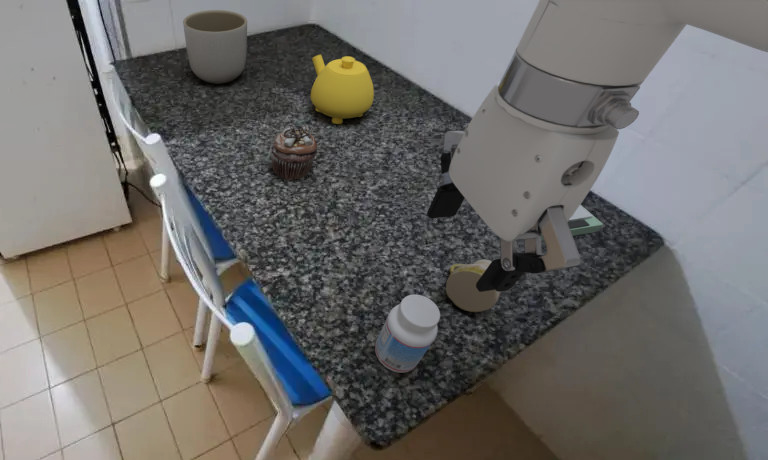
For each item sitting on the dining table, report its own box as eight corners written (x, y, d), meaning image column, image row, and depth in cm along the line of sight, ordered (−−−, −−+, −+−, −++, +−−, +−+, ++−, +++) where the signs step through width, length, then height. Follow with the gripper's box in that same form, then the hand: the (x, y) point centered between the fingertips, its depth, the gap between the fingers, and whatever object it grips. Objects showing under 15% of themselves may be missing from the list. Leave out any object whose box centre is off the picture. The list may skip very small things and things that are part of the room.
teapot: (287, 99, 106) (291, 46, 96) (332, 85, 111) (340, 35, 101) (334, 134, 94) (344, 78, 84) (382, 117, 100) (396, 63, 90)
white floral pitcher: (504, 282, 64) (534, 273, 55) (461, 322, 64) (484, 319, 54) (468, 250, 66) (490, 235, 57) (426, 288, 66) (442, 280, 57)
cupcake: (303, 152, 88) (308, 112, 81) (320, 178, 82) (327, 137, 75) (263, 159, 87) (264, 118, 79) (277, 186, 80) (279, 145, 73)
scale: (596, 231, 72) (605, 222, 70) (535, 242, 70) (543, 232, 68) (546, 187, 81) (553, 177, 79) (491, 195, 79) (497, 185, 77)
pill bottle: (427, 360, 54) (458, 318, 46) (395, 382, 52) (421, 341, 44) (396, 327, 58) (420, 282, 50) (364, 345, 56) (384, 302, 48)
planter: (182, 87, 109) (175, 29, 98) (197, 62, 121) (192, 8, 110) (242, 92, 108) (241, 34, 97) (251, 66, 120) (251, 11, 109)
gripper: (729, 155, 22) (555, 317, 34) (530, 37, 33) (454, 190, 46) (612, 167, 21) (476, 329, 33) (449, 42, 33) (394, 196, 45)
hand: (463, 248), depth 40 cm, fingers open, 9 cm apart
